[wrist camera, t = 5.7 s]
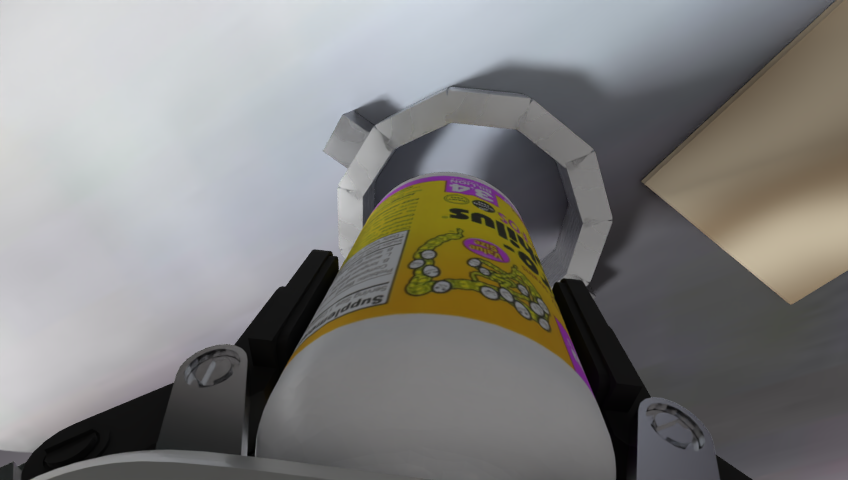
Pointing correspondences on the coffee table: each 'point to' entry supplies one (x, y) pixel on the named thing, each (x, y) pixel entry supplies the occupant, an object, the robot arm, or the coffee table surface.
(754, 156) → the mat
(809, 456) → the coffee table surface
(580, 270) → the collar
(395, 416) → the supplement bottle
